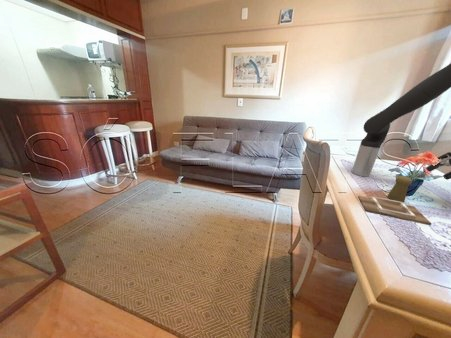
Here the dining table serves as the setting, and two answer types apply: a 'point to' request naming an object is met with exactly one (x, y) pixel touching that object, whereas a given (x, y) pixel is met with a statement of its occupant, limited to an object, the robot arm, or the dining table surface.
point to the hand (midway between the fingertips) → (435, 173)
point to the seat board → (392, 209)
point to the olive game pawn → (400, 189)
